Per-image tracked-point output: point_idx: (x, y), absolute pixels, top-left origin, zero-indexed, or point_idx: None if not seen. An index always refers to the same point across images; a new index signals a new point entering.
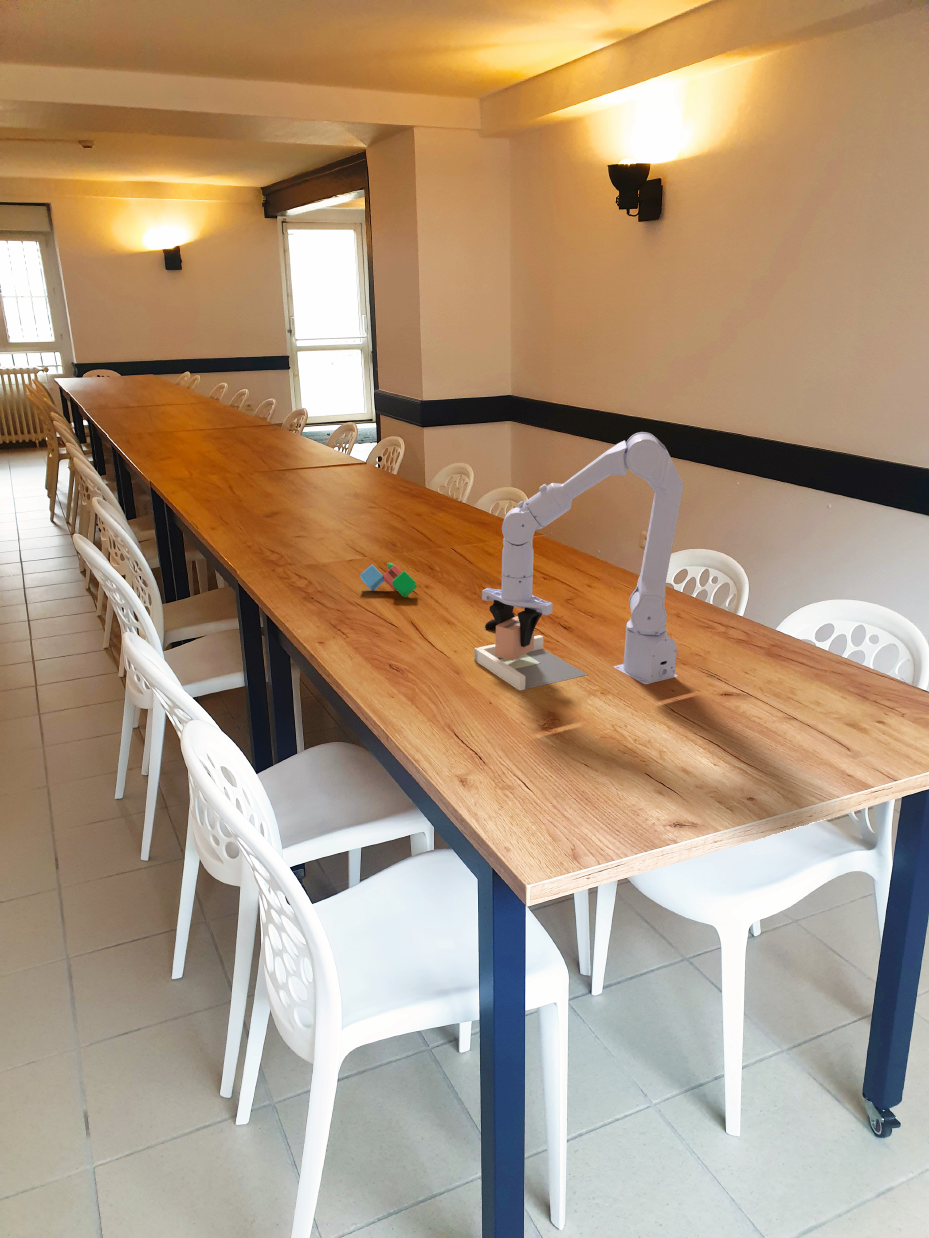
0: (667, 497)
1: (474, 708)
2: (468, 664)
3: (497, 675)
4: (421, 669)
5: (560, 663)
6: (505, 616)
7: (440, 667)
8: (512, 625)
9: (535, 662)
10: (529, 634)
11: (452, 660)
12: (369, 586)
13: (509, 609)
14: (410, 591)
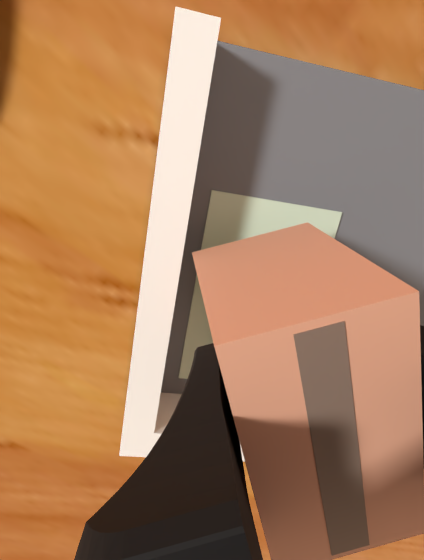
0: None
1: (389, 550)
2: (121, 424)
3: None
4: (66, 553)
5: (413, 130)
6: (251, 521)
7: (87, 505)
8: (359, 497)
9: (322, 228)
10: None
11: (49, 449)
12: None
13: (250, 531)
14: None
